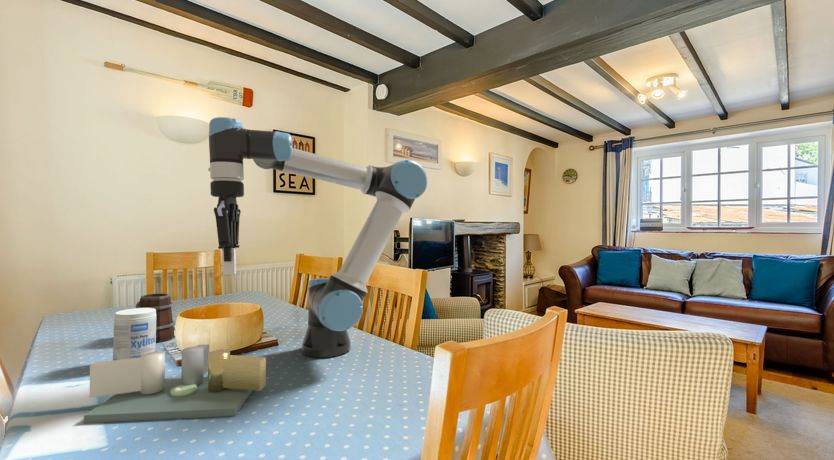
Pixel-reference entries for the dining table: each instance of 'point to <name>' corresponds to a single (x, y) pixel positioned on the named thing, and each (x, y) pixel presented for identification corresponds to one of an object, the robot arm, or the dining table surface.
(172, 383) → the base
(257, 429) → the dining table surface
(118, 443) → the dining table surface
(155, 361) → the cream piece
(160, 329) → the mug
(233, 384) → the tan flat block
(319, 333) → the robot arm
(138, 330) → the supplement tub
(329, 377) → the dining table surface
